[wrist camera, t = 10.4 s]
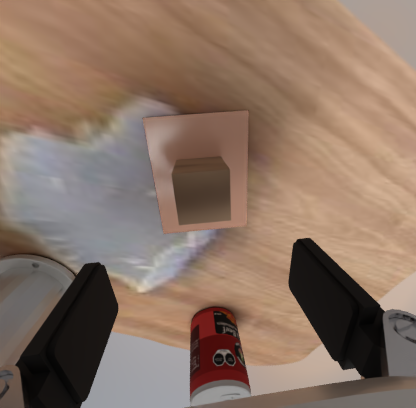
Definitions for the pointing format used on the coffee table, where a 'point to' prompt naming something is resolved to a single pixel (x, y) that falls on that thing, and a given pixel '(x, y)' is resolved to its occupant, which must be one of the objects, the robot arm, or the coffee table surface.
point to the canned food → (216, 359)
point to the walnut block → (202, 190)
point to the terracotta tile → (199, 148)
